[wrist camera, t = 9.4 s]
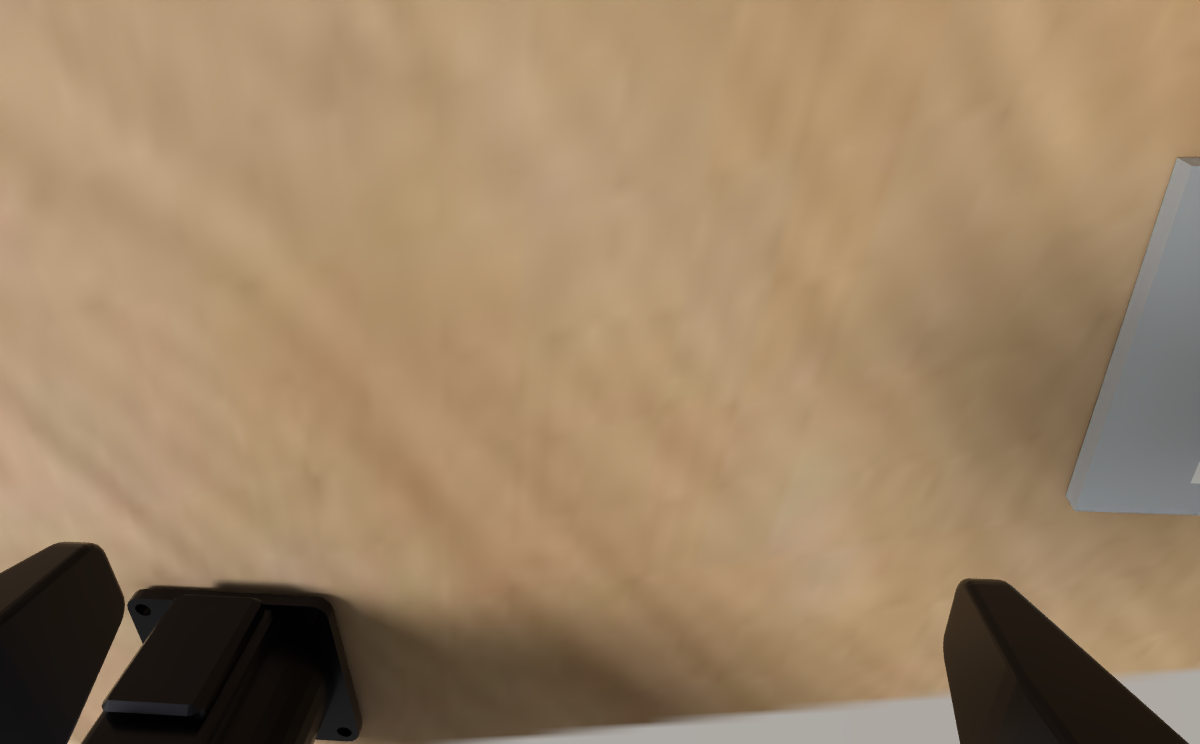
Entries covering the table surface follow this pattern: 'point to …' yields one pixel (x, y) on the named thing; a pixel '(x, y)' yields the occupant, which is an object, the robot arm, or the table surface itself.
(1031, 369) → the table surface
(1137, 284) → the grey flat plate
